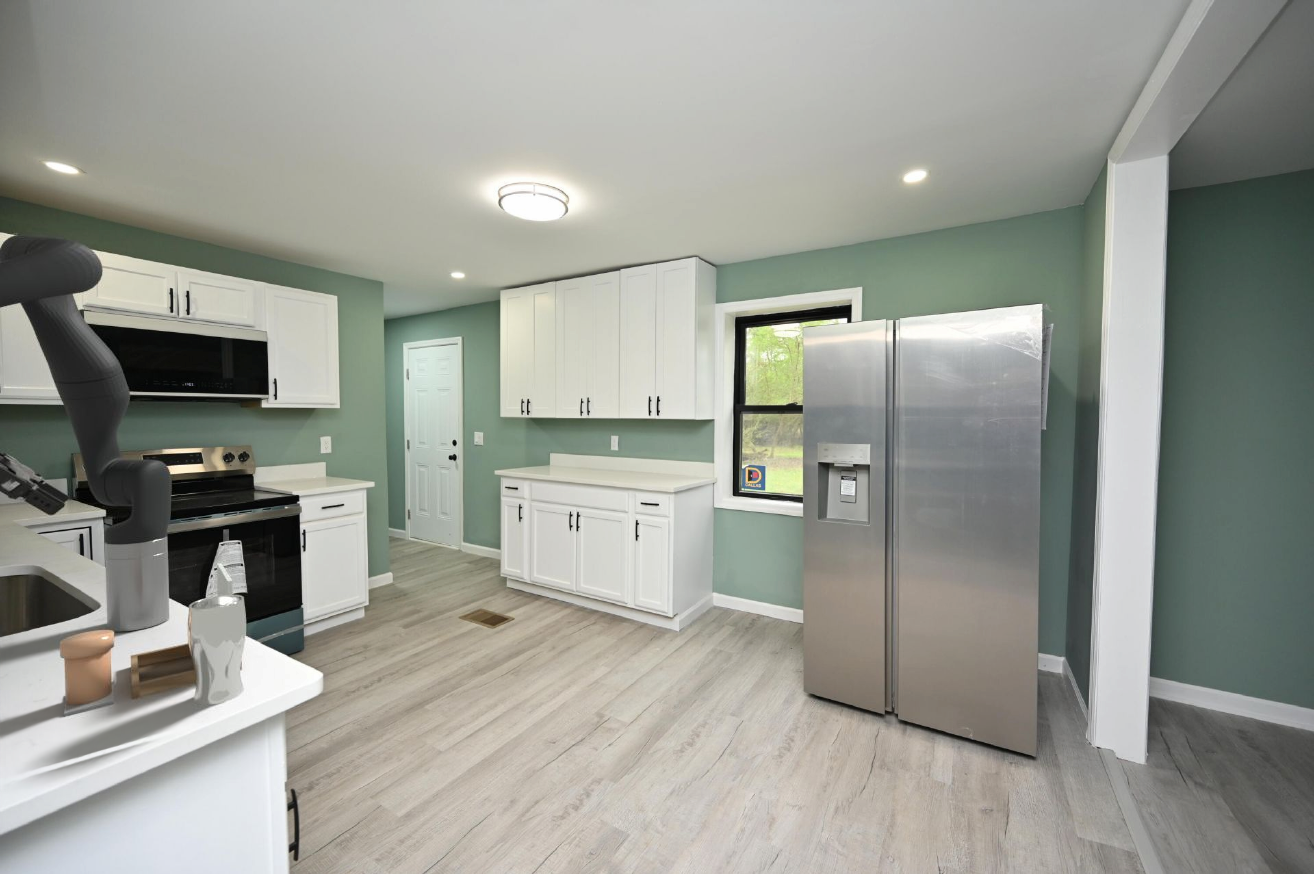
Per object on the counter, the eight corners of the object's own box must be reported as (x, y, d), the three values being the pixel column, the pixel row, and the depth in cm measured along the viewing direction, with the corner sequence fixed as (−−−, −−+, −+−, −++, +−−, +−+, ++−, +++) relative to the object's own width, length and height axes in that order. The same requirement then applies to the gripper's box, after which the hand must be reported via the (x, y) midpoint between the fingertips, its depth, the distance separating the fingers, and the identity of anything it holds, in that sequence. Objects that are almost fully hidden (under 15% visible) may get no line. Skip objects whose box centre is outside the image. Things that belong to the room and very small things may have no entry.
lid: (217, 612, 101) (216, 563, 100) (222, 611, 101) (221, 562, 101) (229, 635, 91) (227, 581, 90) (233, 634, 91) (232, 580, 91)
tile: (67, 698, 84) (67, 692, 84) (114, 687, 87) (113, 681, 87) (64, 720, 78) (63, 713, 78) (113, 707, 82) (113, 701, 82)
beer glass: (235, 707, 82) (233, 607, 82) (179, 714, 80) (176, 611, 80) (255, 684, 89) (253, 592, 88) (203, 690, 87) (200, 596, 86)
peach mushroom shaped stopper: (62, 696, 83) (60, 636, 82) (115, 683, 87) (113, 626, 86) (60, 711, 79) (58, 648, 78) (115, 697, 83) (114, 637, 82)
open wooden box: (131, 670, 93) (129, 602, 93) (230, 647, 102) (229, 585, 102) (132, 702, 83) (130, 626, 83) (242, 674, 92) (241, 605, 92)
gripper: (-44, 414, 73) (83, 493, 82) (-24, 413, 84) (87, 483, 92) (-110, 456, 70) (31, 534, 79) (-80, 449, 80) (41, 518, 89)
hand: (61, 506), depth 85 cm, fingers open, 8 cm apart
